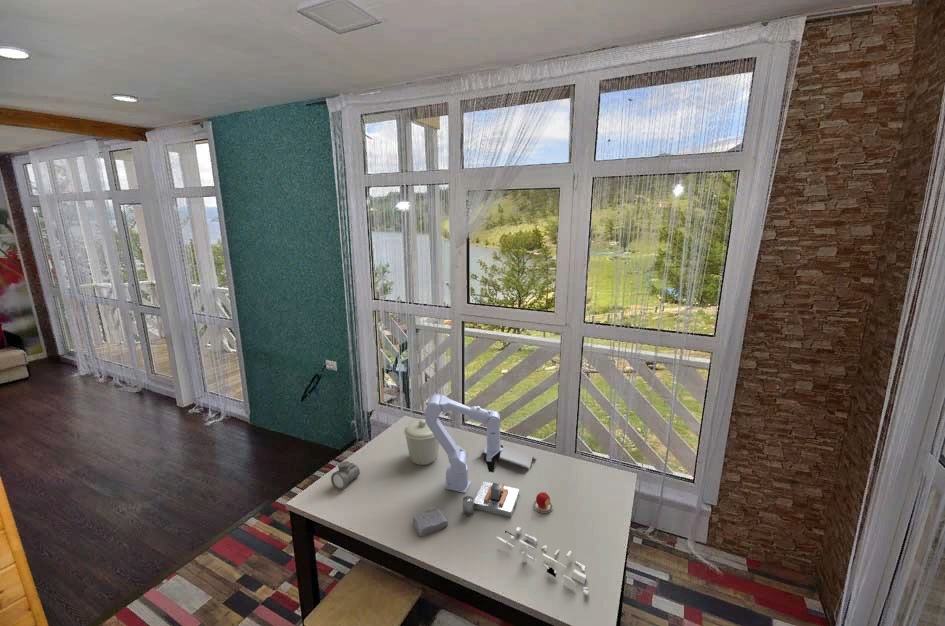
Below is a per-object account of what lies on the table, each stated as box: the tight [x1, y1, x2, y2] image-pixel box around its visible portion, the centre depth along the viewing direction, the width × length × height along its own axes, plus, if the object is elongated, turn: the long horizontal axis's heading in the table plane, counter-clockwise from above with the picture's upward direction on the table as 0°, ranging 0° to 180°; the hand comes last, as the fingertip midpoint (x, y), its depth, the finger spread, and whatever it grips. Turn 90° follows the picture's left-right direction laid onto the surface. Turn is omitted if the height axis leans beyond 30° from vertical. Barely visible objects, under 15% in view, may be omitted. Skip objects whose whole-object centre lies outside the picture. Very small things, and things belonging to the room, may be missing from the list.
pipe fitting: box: [330, 460, 361, 491], centre depth 183 cm, size 12×8×10 cm
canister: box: [403, 418, 440, 466], centre depth 198 cm, size 18×18×21 cm
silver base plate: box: [474, 481, 520, 518], centre depth 171 cm, size 16×14×2 cm
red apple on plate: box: [532, 491, 554, 514], centre depth 167 cm, size 8×8×6 cm
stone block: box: [412, 507, 448, 537], centre depth 159 cm, size 12×5×10 cm
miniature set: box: [496, 525, 589, 596], centre depth 143 cm, size 6×35×12 cm
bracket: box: [484, 482, 508, 506], centre depth 171 cm, size 8×12×1 cm, turn 161°
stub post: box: [462, 495, 475, 517], centre depth 164 cm, size 4×4×6 cm
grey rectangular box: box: [491, 482, 501, 502], centre depth 169 cm, size 3×3×8 cm
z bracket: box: [478, 442, 537, 469], centre depth 200 cm, size 12×25×6 cm
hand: (493, 466), depth 177 cm, fingers open, 7 cm apart
